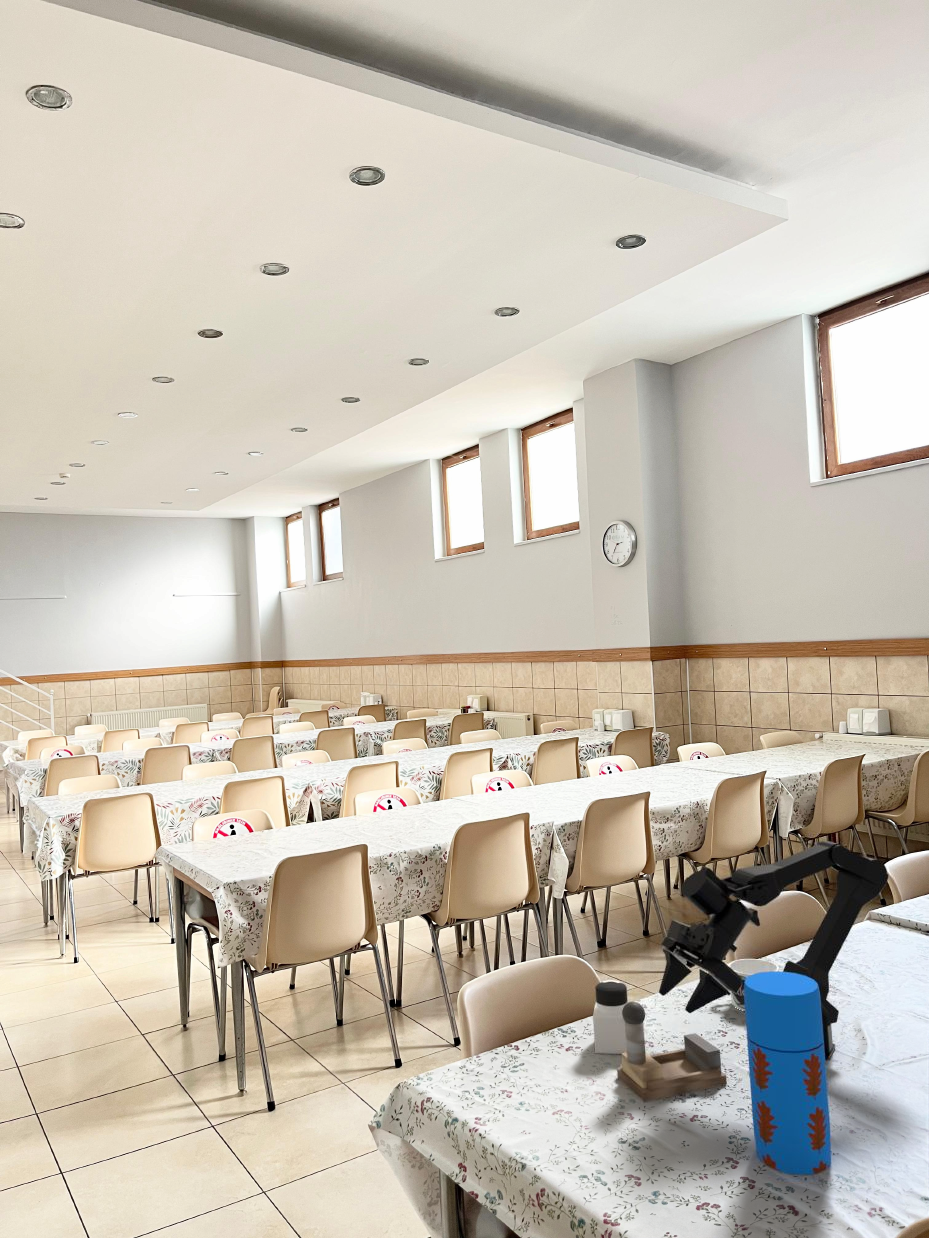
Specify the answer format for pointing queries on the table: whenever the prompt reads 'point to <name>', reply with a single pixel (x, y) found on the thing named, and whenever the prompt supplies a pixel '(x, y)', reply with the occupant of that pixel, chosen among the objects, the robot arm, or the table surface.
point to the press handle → (638, 1048)
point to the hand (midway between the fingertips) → (673, 1002)
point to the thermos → (787, 1072)
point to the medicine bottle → (610, 1018)
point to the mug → (745, 970)
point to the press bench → (682, 1070)
